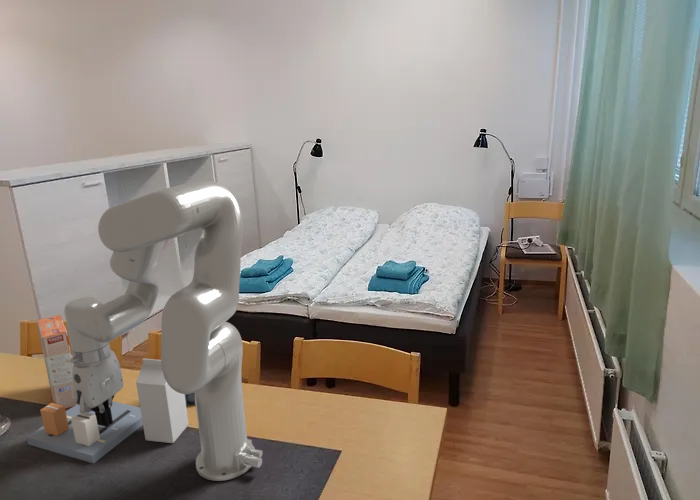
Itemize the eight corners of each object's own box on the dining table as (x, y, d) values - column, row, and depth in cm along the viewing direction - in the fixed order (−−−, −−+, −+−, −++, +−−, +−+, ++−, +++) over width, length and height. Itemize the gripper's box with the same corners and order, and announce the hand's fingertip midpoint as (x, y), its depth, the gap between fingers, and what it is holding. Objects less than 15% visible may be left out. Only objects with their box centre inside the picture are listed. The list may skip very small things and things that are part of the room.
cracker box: (82, 404, 134) (67, 330, 128) (55, 413, 131) (39, 337, 125) (74, 382, 145) (61, 313, 139) (50, 389, 142) (35, 319, 136)
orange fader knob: (69, 428, 120) (64, 405, 119) (57, 436, 118) (52, 412, 116) (56, 425, 122) (51, 402, 120) (45, 432, 119) (40, 409, 117)
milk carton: (173, 444, 117) (162, 368, 112) (145, 440, 118) (133, 366, 113) (188, 425, 124) (179, 353, 119) (162, 422, 125) (151, 351, 120)
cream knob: (100, 438, 116) (95, 414, 115) (89, 446, 114) (84, 422, 112) (86, 434, 118) (82, 411, 116) (75, 442, 115) (70, 418, 113)
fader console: (152, 417, 128) (151, 409, 127) (93, 463, 111) (92, 455, 111) (91, 402, 135) (89, 395, 134) (27, 444, 118) (26, 436, 118)
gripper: (77, 371, 107) (92, 446, 112) (129, 340, 120) (141, 409, 126) (50, 365, 110) (66, 440, 115) (104, 336, 123) (116, 404, 128)
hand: (105, 423), depth 120 cm, fingers closed
